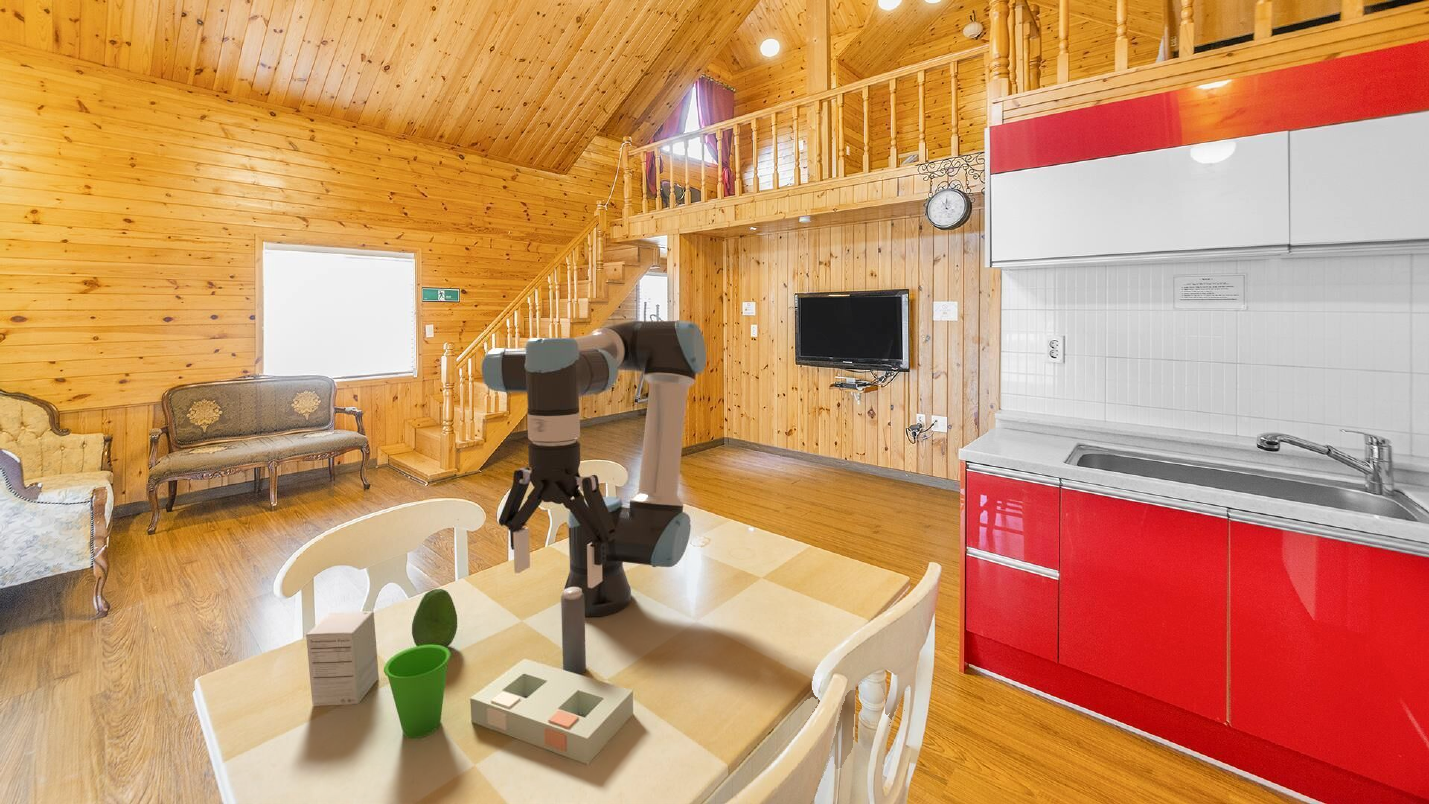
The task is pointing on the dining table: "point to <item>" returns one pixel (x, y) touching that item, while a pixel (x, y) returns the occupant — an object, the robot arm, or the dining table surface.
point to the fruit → (435, 619)
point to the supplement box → (342, 658)
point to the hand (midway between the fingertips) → (557, 577)
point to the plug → (573, 630)
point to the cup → (418, 687)
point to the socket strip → (553, 709)
